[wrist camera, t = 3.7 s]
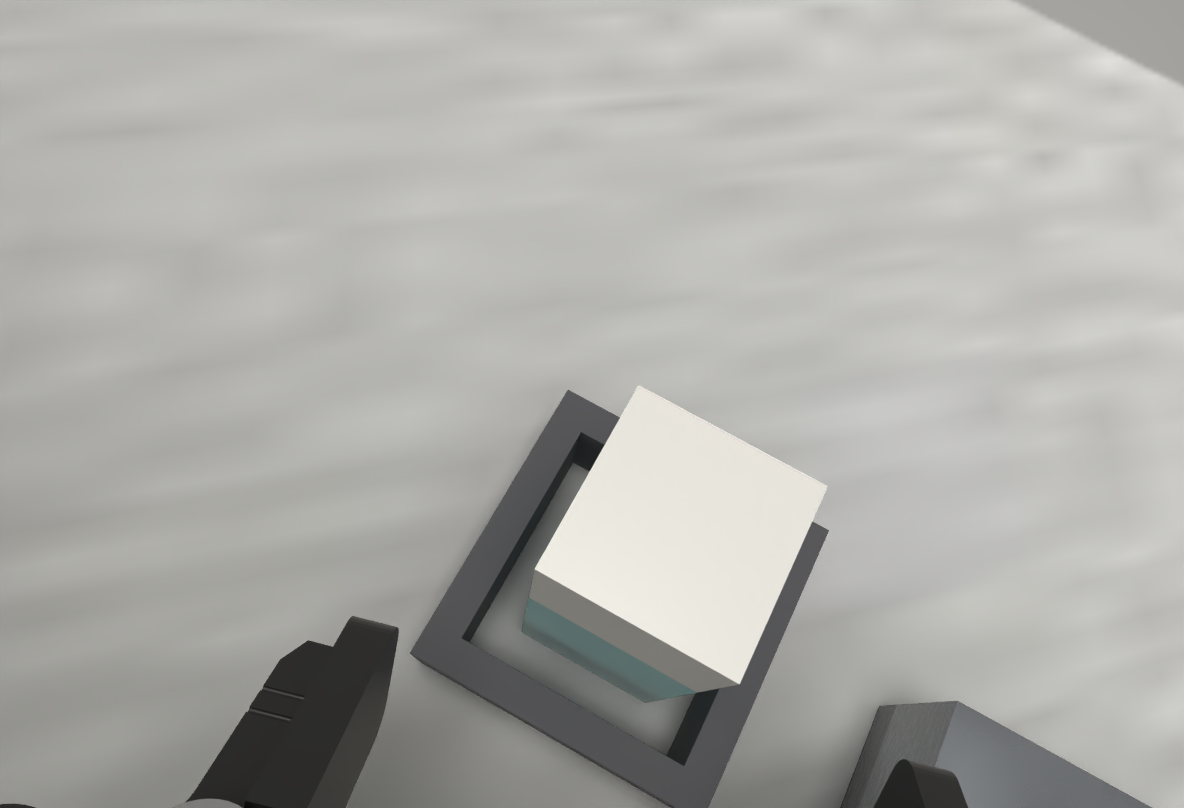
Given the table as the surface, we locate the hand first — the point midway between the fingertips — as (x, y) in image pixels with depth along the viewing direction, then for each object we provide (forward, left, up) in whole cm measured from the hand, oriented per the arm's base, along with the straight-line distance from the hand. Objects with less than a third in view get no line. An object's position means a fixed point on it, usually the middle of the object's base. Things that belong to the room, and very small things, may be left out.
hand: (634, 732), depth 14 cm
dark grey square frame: (-1, +3, -8) cm, 8 cm away
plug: (-1, +3, -8) cm, 9 cm away
